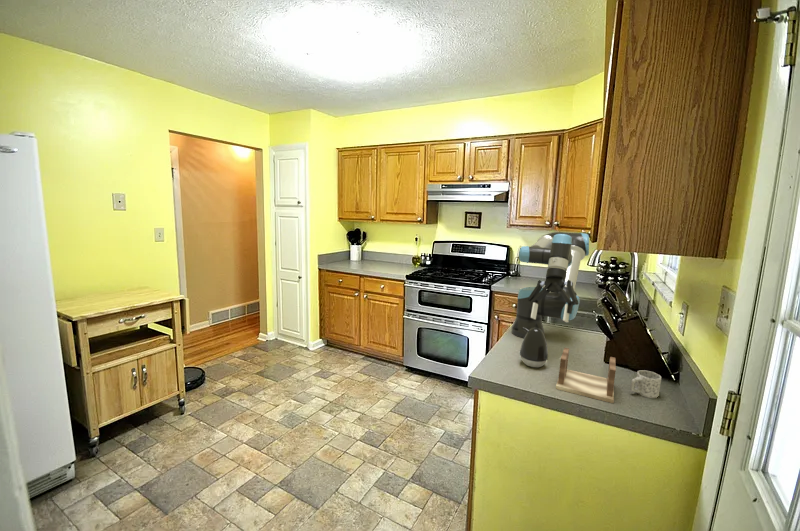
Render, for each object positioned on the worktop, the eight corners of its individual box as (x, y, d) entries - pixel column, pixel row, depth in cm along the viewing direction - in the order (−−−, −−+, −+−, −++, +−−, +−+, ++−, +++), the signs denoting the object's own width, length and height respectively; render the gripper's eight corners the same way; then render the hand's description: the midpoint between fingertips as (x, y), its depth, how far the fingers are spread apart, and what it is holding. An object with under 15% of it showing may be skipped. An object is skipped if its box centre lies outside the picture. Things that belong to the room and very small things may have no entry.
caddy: (561, 371, 135) (564, 345, 134) (613, 383, 127) (616, 355, 125) (555, 388, 122) (558, 360, 120) (613, 403, 113) (617, 373, 112)
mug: (646, 387, 124) (648, 369, 123) (663, 397, 118) (666, 378, 117) (621, 389, 122) (624, 371, 121) (638, 400, 116) (641, 380, 115)
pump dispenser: (524, 357, 148) (527, 321, 145) (550, 364, 141) (553, 327, 139) (514, 364, 140) (517, 327, 137) (541, 373, 133) (545, 334, 131)
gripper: (525, 267, 154) (516, 314, 149) (583, 265, 135) (575, 319, 129) (534, 273, 159) (525, 319, 153) (592, 272, 139) (585, 325, 134)
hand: (548, 320), depth 141 cm, fingers open, 13 cm apart
